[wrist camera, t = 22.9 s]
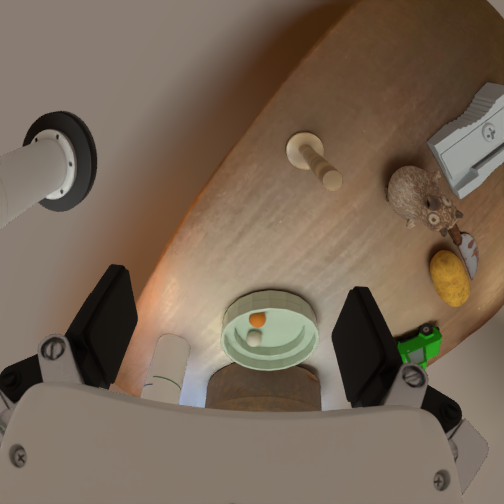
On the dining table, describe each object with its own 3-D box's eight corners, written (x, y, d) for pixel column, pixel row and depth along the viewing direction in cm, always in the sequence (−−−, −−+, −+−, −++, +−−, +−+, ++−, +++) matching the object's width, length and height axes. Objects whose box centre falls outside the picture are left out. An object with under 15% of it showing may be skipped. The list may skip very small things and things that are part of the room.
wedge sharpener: (508, 132, 28) (533, 141, 22) (452, 193, 35) (476, 210, 29) (486, 82, 24) (513, 85, 18) (425, 142, 32) (452, 153, 26)
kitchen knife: (485, 267, 42) (472, 283, 44) (480, 263, 44) (467, 279, 45) (462, 201, 35) (446, 221, 36) (456, 198, 36) (440, 217, 37)
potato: (437, 298, 47) (452, 320, 41) (415, 257, 42) (433, 281, 36) (461, 277, 44) (478, 298, 38) (443, 233, 39) (464, 253, 33)
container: (322, 351, 54) (330, 413, 41) (314, 404, 69) (317, 449, 56) (195, 356, 57) (182, 414, 44) (220, 407, 71) (214, 450, 59)
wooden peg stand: (280, 138, 33) (294, 161, 20) (315, 127, 32) (352, 143, 19) (292, 172, 36) (313, 216, 23) (326, 161, 35) (366, 198, 22)
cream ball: (241, 342, 50) (250, 351, 48) (244, 329, 49) (253, 337, 47) (254, 339, 52) (263, 348, 49) (257, 327, 51) (266, 335, 49)
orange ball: (268, 312, 45) (263, 329, 45) (267, 313, 48) (263, 329, 47) (251, 307, 46) (246, 324, 45) (251, 309, 49) (247, 325, 48)
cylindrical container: (152, 338, 54) (119, 441, 32) (177, 331, 52) (147, 444, 31) (171, 357, 57) (147, 456, 36) (196, 351, 55) (177, 458, 34)
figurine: (395, 140, 32) (459, 168, 19) (434, 177, 34) (495, 216, 21) (363, 190, 36) (411, 239, 24) (405, 221, 39) (454, 274, 26)
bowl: (222, 347, 54) (219, 366, 50) (226, 283, 45) (222, 303, 41) (302, 353, 55) (305, 372, 51) (325, 292, 46) (331, 312, 42)
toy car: (432, 339, 54) (447, 368, 45) (371, 363, 58) (381, 397, 49) (434, 318, 50) (452, 349, 42) (368, 345, 54) (380, 381, 45)
